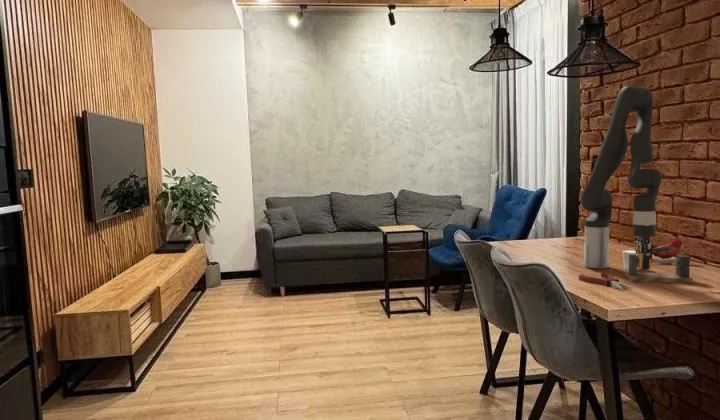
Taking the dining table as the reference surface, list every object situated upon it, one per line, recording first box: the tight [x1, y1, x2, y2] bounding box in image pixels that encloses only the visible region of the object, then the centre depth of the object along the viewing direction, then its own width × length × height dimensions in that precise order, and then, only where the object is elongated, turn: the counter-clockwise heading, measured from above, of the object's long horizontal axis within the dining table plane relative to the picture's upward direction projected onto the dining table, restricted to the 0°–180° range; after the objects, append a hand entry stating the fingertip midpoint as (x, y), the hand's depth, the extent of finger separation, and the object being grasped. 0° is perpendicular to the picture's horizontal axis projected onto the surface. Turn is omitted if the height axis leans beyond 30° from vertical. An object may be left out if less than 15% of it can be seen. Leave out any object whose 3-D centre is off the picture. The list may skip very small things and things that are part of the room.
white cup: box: [622, 249, 641, 270], centre depth 200 cm, size 7×7×7 cm
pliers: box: [578, 272, 632, 291], centre depth 178 cm, size 12×20×3 cm, turn 9°
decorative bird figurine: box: [652, 238, 685, 259], centre depth 208 cm, size 3×18×10 cm, turn 83°
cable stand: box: [625, 254, 694, 284], centre depth 181 cm, size 20×8×9 cm, turn 75°
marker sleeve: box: [636, 253, 652, 270], centre depth 182 cm, size 4×5×5 cm
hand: (643, 267), depth 182 cm, fingers closed on marker sleeve, 5 cm apart
